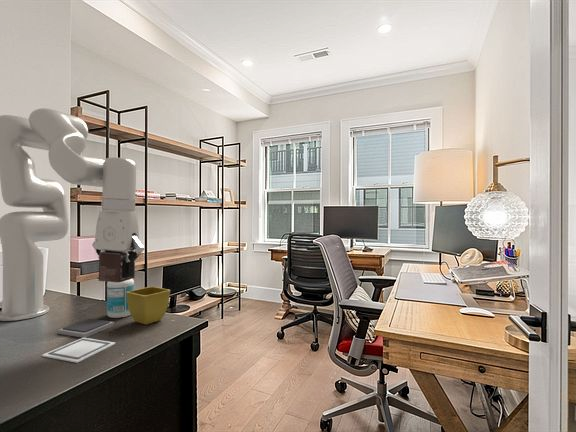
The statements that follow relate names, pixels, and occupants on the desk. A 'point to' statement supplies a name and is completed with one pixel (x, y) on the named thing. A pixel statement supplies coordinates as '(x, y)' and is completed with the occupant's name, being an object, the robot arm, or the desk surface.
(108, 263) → the box
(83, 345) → the frame card
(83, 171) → the robot arm
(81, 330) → the ink pad
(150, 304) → the flower pot
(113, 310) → the pill bottle
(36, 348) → the desk surface
